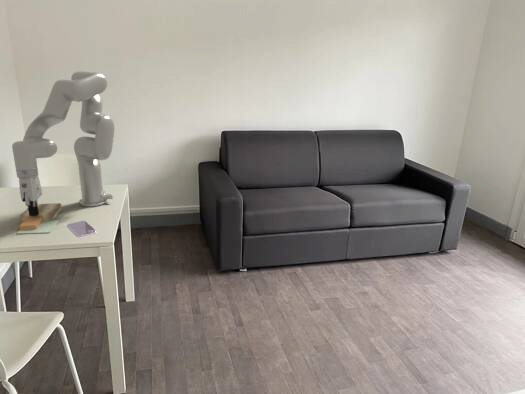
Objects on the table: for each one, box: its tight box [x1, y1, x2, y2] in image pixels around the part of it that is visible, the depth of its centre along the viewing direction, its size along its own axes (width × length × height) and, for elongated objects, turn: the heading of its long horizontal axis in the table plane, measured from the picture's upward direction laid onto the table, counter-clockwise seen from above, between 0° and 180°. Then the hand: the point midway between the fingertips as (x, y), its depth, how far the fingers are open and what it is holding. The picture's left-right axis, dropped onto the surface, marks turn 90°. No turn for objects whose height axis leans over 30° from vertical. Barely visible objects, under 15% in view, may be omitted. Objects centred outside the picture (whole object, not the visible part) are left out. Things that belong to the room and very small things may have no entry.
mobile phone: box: [67, 220, 98, 238], centre depth 165 cm, size 8×1×15 cm
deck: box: [19, 202, 62, 223], centre depth 176 cm, size 12×14×3 cm
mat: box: [16, 219, 60, 235], centre depth 164 cm, size 12×12×1 cm
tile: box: [19, 217, 43, 230], centre depth 165 cm, size 6×9×2 cm, turn 12°
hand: (34, 215), depth 167 cm, fingers closed
